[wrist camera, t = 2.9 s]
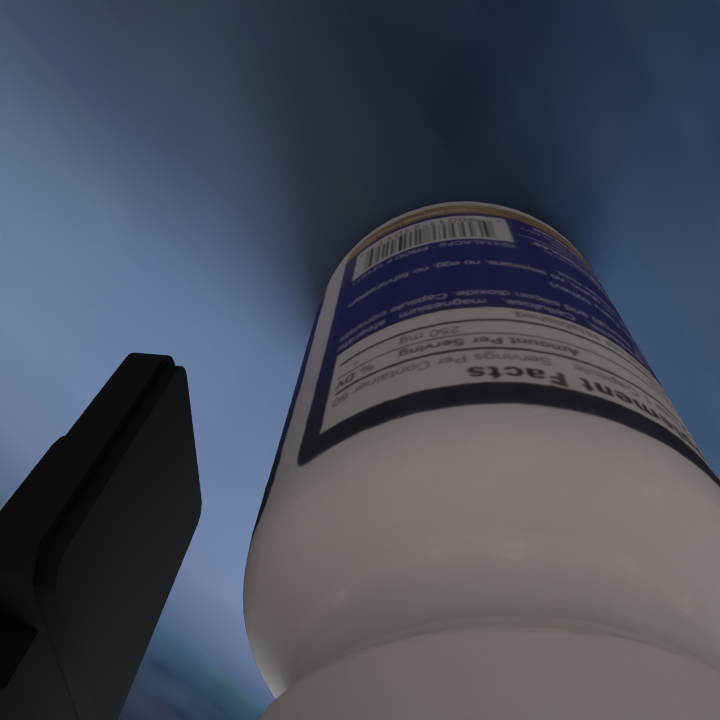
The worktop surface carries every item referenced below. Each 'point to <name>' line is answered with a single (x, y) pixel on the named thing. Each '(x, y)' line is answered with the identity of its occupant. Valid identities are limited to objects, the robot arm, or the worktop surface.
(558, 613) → the pill bottle
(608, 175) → the worktop surface
